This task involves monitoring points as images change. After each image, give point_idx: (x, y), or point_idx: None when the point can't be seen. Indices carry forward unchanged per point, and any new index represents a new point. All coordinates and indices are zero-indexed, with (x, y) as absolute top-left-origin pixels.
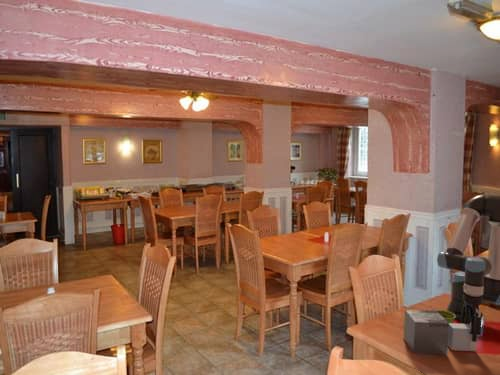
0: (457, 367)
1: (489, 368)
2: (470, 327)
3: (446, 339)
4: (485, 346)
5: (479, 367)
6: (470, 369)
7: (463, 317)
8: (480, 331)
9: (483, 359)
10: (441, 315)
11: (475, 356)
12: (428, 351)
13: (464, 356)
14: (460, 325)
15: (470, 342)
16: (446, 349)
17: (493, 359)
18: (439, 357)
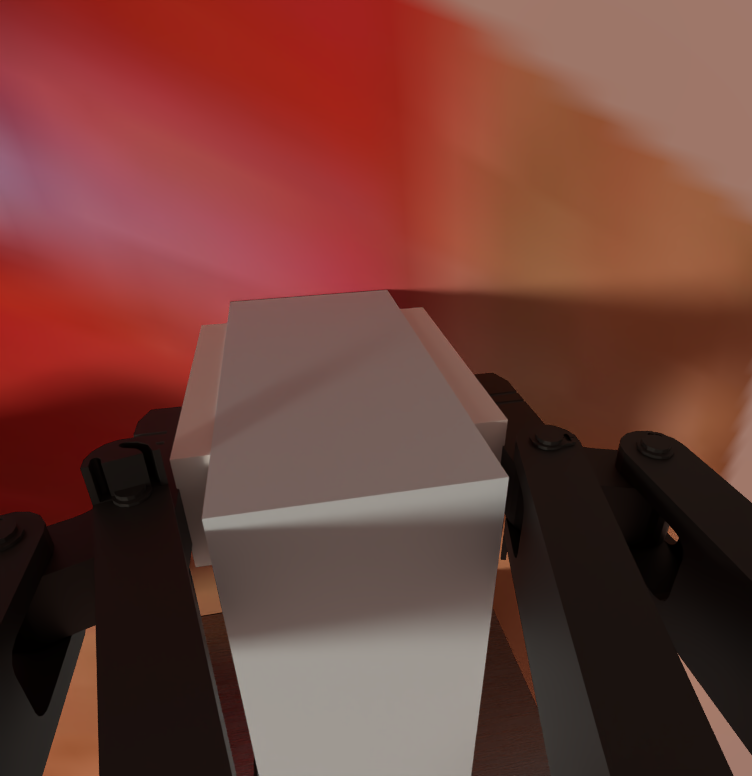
0: (672, 536)
1: (748, 287)
2: (426, 575)
3: (540, 724)
4: (202, 45)
5: (710, 376)
6: (719, 458)
7: (32, 765)
8: (727, 487)
9: (582, 271)
10: None
11: (513, 334)
12: None
13: None
14: (342, 706)
15: None
16: (493, 615)
17: (594, 136)
18: (519, 619)
